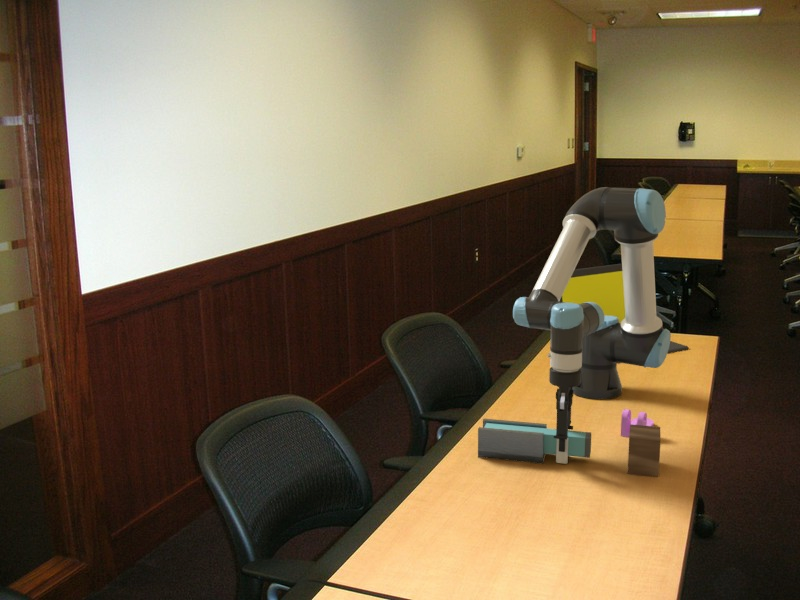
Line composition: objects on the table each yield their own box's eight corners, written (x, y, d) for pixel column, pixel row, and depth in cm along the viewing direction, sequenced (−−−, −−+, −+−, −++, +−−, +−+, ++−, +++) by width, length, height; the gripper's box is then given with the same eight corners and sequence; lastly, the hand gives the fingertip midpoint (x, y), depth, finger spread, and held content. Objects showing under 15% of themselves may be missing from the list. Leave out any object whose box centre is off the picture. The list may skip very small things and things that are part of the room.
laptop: (616, 364, 282) (619, 288, 276) (552, 340, 312) (554, 272, 306) (688, 350, 296) (693, 278, 291) (620, 329, 327) (623, 263, 321)
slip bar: (486, 441, 212) (486, 423, 210) (590, 451, 204) (591, 432, 203) (483, 447, 208) (483, 428, 207) (589, 457, 200) (590, 438, 199)
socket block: (628, 458, 204) (630, 424, 202) (658, 461, 202) (660, 426, 200) (627, 473, 196) (629, 438, 194) (658, 477, 194) (660, 440, 192)
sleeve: (483, 446, 214) (483, 418, 212) (546, 452, 209) (546, 424, 208) (477, 457, 207) (478, 428, 205) (542, 463, 202) (543, 434, 201)
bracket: (641, 440, 216) (643, 415, 215) (620, 436, 219) (621, 411, 218) (655, 424, 227) (657, 400, 225) (635, 420, 230) (636, 397, 228)
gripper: (553, 356, 208) (551, 444, 214) (545, 377, 192) (543, 471, 198) (584, 358, 206) (581, 447, 211) (578, 379, 190) (575, 474, 196)
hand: (562, 458), depth 205 cm, fingers closed on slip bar, 4 cm apart
